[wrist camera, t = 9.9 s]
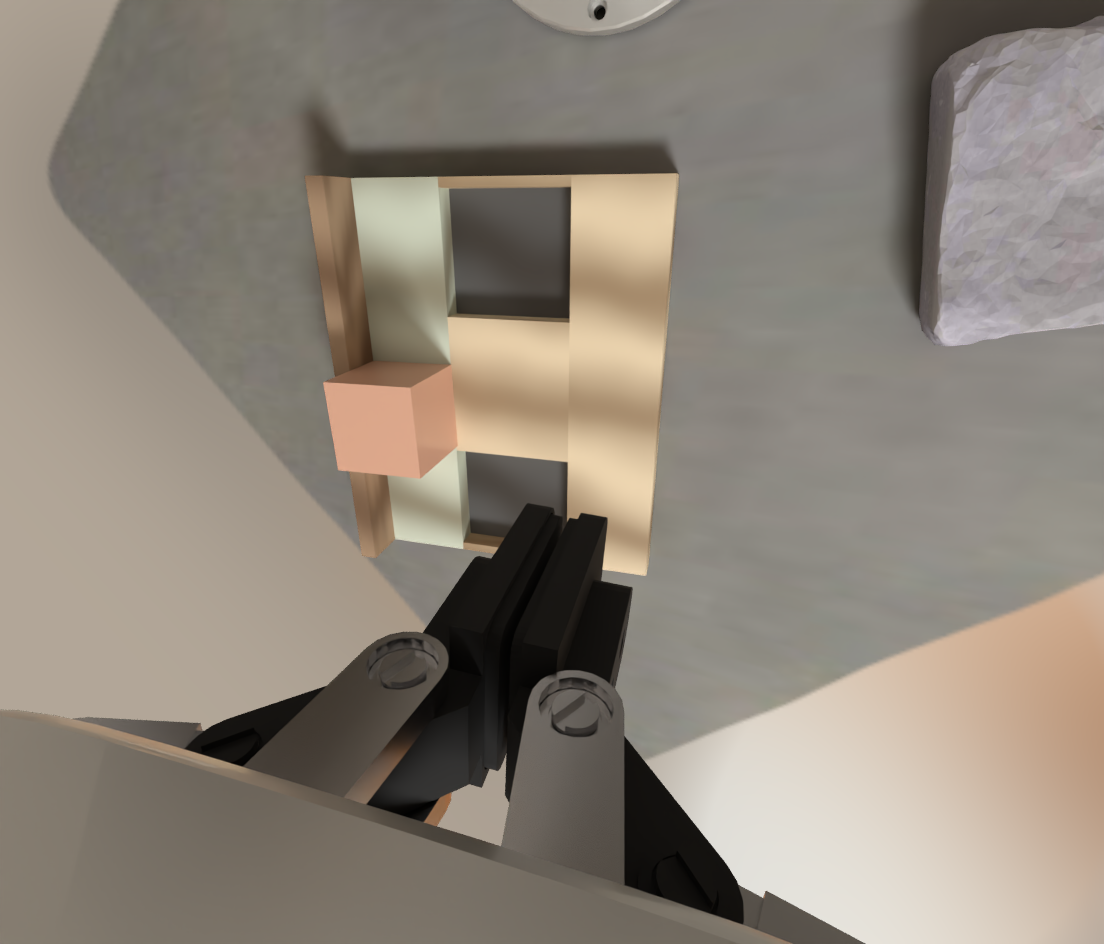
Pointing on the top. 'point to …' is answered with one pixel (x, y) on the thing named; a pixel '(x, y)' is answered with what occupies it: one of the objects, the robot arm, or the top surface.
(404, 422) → the terracotta block
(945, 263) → the stone block
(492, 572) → the robot arm
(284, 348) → the top surface
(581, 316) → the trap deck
